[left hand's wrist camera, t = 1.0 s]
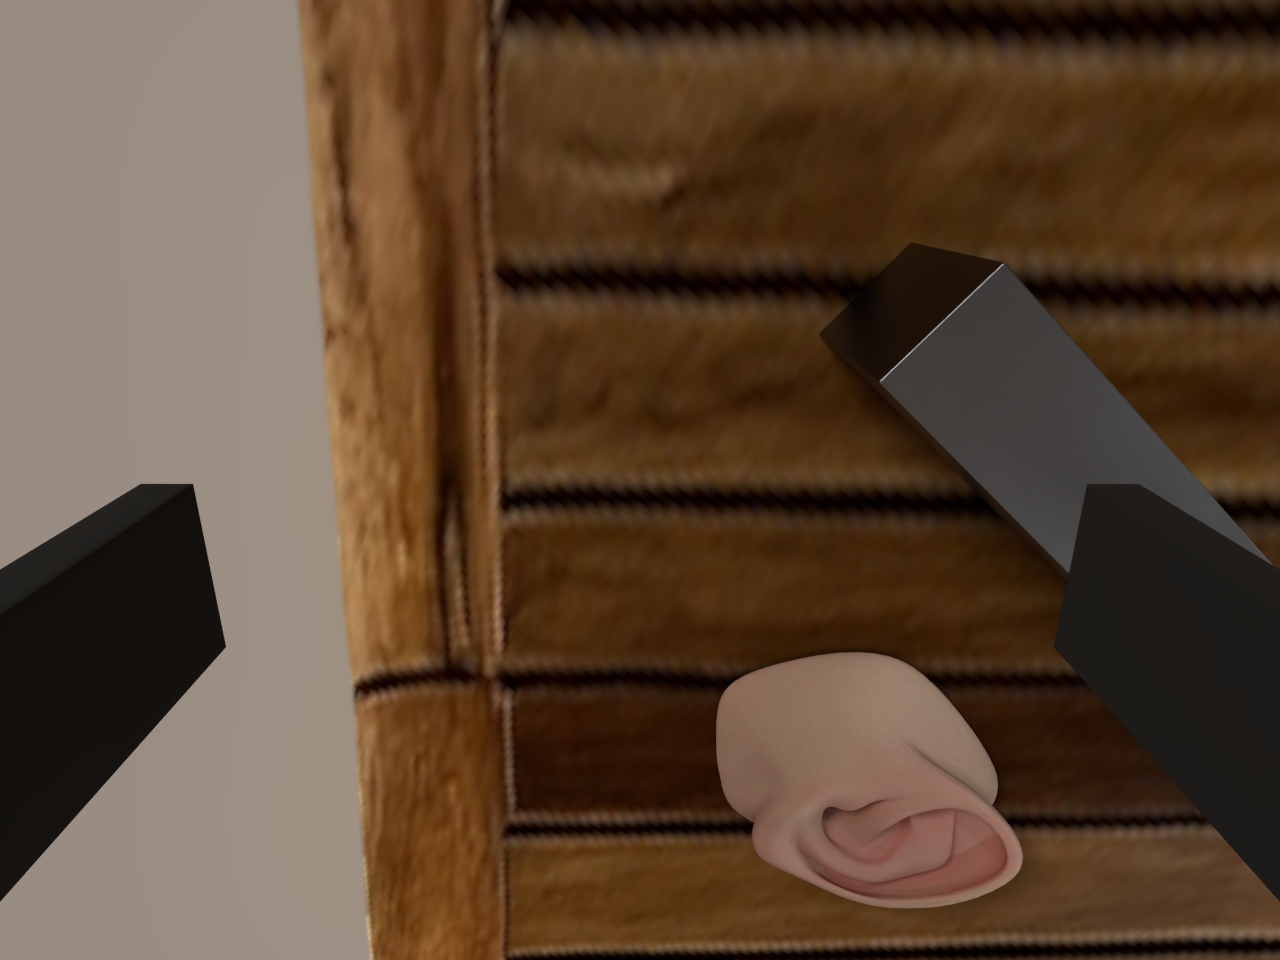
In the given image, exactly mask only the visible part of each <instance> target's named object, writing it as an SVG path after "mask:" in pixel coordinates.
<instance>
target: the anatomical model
mask: <svg viewBox="0 0 1280 960" xmlns="http://www.w3.org/2000/svg"><path fill="white" fill-rule="evenodd" d="M716 751H717V764H718V769H719V773H720V778H721V783H722V787H723V791H724V794H725V796H726V798H727V800H728V802H729V803H730V805H731V806H732V807H733V808H734V809H735V810H736V811H737V812H738V813H740V814H741V815H743V816H744V817H746V818H747V819H749V820H751V821H753V822H754V826H753V833H752V840H753V845H754V848H755V850H756V852H757V854H758V855H759V856H760V857H761V858H762V859H763V860H764V861H766V862H768V863H769V864H771V865H773V866H775V867H777V868H779V869H781V870H783V871H786V872H788V873H790V874H792V875H794V876H797V877H799V878H801V879H803V880H805V881H807V882H809V883H812V884H814V885H816V886H818V887H820V888H822V889H824V890H827V891H829V892H831V893H834V894H836V895H838V896H841V897H844V898H847V899H850V900H853V901H856V902H859V903H863V904H868V905H872V906H879V907H887V908H929V907H939V906H945V905H951V904H955V903H959V902H963V901H967V900H970V899H973V898H977V897H980V896H982V895H984V894H987V893H989V892H991V891H994V890H995V889H997V888H999V887H1001V886H1003V885H1005V884H1006V883H1007V882H1009V881H1010V880H1011V879H1013V878H1014V877H1015V875H1016V874H1017V873H1018V872H1019V870H1020V868H1021V865H1022V860H1023V854H1022V849H1021V845H1020V842H1019V840H1018V838H1017V836H1016V835H1015V833H1014V831H1013V829H1012V828H1011V827H1010V825H1009V824H1008V823H1007V821H1006V820H1005V819H1004V818H1003V817H1002V816H1001V814H1000V813H999V812H998V811H997V810H996V809H995V808H994V807H993V806H992V804H993V803H994V801H995V798H996V795H997V790H998V780H997V775H996V772H995V768H994V766H993V764H992V762H991V760H990V757H989V756H988V754H987V752H986V750H985V749H984V747H983V746H982V744H981V742H980V741H979V739H978V738H977V736H976V735H975V733H974V732H973V730H972V729H971V728H970V726H969V725H968V724H967V722H966V721H965V720H964V718H963V717H962V716H961V715H960V713H959V712H958V711H957V710H956V708H955V707H954V706H953V705H952V704H951V702H950V701H949V700H948V699H947V698H946V697H945V696H944V695H943V694H942V692H941V691H940V690H939V689H938V688H937V687H936V686H935V685H934V684H933V683H932V682H930V681H929V680H928V679H927V678H926V677H925V676H924V675H923V674H921V673H920V672H919V671H917V670H916V669H915V668H913V667H912V666H910V665H908V664H907V663H905V662H903V661H901V660H898V659H896V658H893V657H890V656H885V655H880V654H875V653H863V652H849V653H833V654H824V655H817V656H812V657H807V658H801V659H796V660H792V661H788V662H784V663H780V664H776V665H772V666H769V667H766V668H763V669H760V670H757V671H754V672H752V673H749V674H747V675H745V676H743V677H741V678H740V679H738V680H736V681H735V682H733V683H732V684H731V685H730V686H729V687H728V688H727V689H726V690H725V692H724V693H723V695H722V697H721V699H720V703H719V706H718V713H717V721H716Z"/></svg>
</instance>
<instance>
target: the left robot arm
mask: <svg viewBox="0 0 1280 960" xmlns="http://www.w3.org/2000/svg"><path fill="white" fill-rule="evenodd" d="M225 647H226V645H225V640H224V635H223V630H222V625H221V620H220V615H219V610H218V605H217V600H216V595H215V590H214V585H213V581H212V576H211V571H210V566H209V561H208V556H207V551H206V546H205V541H204V536H203V531H202V526H201V521H200V516H199V511H198V506H197V502H196V497H195V492H194V487H193V484H140V485H138V486H137V487H135V488H134V489H132V490H130V491H129V492H127V493H125V494H124V495H122V496H120V497H119V498H117V499H115V500H114V501H112V502H110V503H109V504H107V505H106V506H104V507H102V508H101V509H99V510H97V511H96V512H94V513H92V514H91V515H89V516H88V517H86V518H84V519H83V520H81V521H79V522H78V523H76V524H74V525H73V526H71V527H69V528H68V529H66V530H65V531H63V532H61V533H60V534H58V535H56V536H55V537H53V538H51V539H50V540H48V541H46V542H45V543H43V544H41V545H40V546H38V547H37V548H35V549H33V550H32V551H30V552H28V553H27V554H25V555H23V556H22V557H20V558H19V559H17V560H15V561H14V562H12V563H10V564H9V565H7V566H5V567H4V568H2V569H0V901H1V900H2V899H3V898H4V897H5V896H6V894H7V893H8V892H9V891H10V890H11V889H12V888H13V886H14V885H15V884H16V883H17V882H18V881H19V880H20V879H21V877H22V876H23V875H24V874H25V873H26V872H27V871H28V870H29V868H30V867H31V866H32V865H33V864H34V863H35V862H36V861H37V859H38V858H39V857H40V856H41V855H42V854H43V853H44V852H45V850H46V849H47V848H48V847H49V846H50V845H51V844H52V843H53V841H54V840H55V839H56V838H57V837H58V836H59V835H60V833H61V832H62V831H63V830H64V829H65V828H66V827H67V826H68V824H69V823H70V822H71V821H72V820H73V819H74V818H75V817H76V815H77V814H78V813H79V812H80V811H81V810H82V809H83V808H84V806H85V805H86V804H87V803H88V802H89V801H90V800H91V799H92V797H93V796H94V795H95V794H96V793H97V792H98V791H99V790H100V788H101V787H102V786H103V785H104V784H105V783H106V782H107V780H108V779H109V778H110V777H111V776H112V775H113V774H114V773H115V771H116V770H117V769H118V768H119V767H120V766H121V765H122V764H123V762H124V761H125V760H126V759H127V758H128V757H129V756H130V755H131V753H132V752H133V751H134V750H135V749H136V748H137V747H138V746H139V744H140V743H141V742H142V741H143V740H144V739H145V738H146V736H147V735H148V734H149V733H150V732H151V731H152V730H153V729H154V727H155V726H156V725H157V724H158V723H159V722H160V721H161V720H162V718H163V717H164V716H165V715H166V714H167V713H168V712H169V711H170V709H171V708H172V707H173V706H174V705H175V704H176V703H177V701H178V700H179V699H180V698H181V697H182V696H183V695H184V694H185V693H186V691H187V690H188V689H189V688H190V687H191V686H192V685H193V683H194V682H195V681H196V680H197V679H198V678H199V677H200V676H201V674H202V673H203V672H204V671H205V670H206V669H207V668H208V667H209V666H210V664H211V663H212V662H213V661H214V660H215V659H216V658H217V656H218V655H219V654H220V653H221V652H222V651H223V650H224V649H225ZM1054 647H1055V649H1056V650H1057V651H1058V652H1059V653H1060V654H1061V655H1062V656H1063V658H1064V659H1065V660H1066V661H1067V662H1068V663H1069V664H1070V666H1071V667H1072V668H1073V669H1074V670H1075V671H1076V672H1077V673H1078V675H1079V676H1080V677H1081V678H1082V679H1083V680H1084V681H1085V682H1086V684H1087V685H1088V686H1089V687H1090V688H1091V689H1092V690H1093V691H1094V693H1095V694H1096V695H1097V696H1098V697H1099V698H1100V699H1101V700H1102V702H1103V703H1104V704H1105V705H1106V706H1107V707H1108V708H1109V709H1110V711H1111V712H1112V713H1113V714H1114V715H1115V716H1116V717H1117V719H1118V720H1119V721H1120V722H1121V723H1122V724H1123V725H1124V726H1125V728H1126V729H1127V730H1128V731H1129V732H1130V733H1131V734H1132V735H1133V737H1134V738H1135V739H1136V740H1137V741H1138V742H1139V743H1140V744H1141V746H1142V747H1143V748H1144V749H1145V750H1146V751H1147V752H1148V753H1149V755H1150V756H1151V757H1152V758H1153V759H1154V760H1155V761H1156V762H1157V764H1158V765H1159V766H1160V767H1161V768H1162V769H1163V770H1164V771H1165V773H1166V774H1167V775H1168V776H1169V777H1170V778H1171V779H1172V781H1173V782H1174V783H1175V784H1176V785H1177V786H1178V787H1179V788H1180V790H1181V791H1182V792H1183V793H1184V794H1185V795H1186V796H1187V797H1188V799H1189V800H1190V801H1191V802H1192V803H1193V804H1194V805H1195V806H1196V808H1197V809H1198V810H1199V811H1200V812H1201V813H1202V814H1203V815H1204V817H1205V818H1206V819H1207V820H1208V821H1209V822H1210V823H1211V824H1212V826H1213V827H1214V828H1215V829H1216V830H1217V831H1218V832H1219V834H1220V835H1221V836H1222V837H1223V838H1224V839H1225V840H1226V841H1227V843H1228V844H1229V845H1230V846H1231V847H1232V848H1233V849H1234V850H1235V852H1236V853H1237V854H1238V855H1239V856H1240V857H1241V858H1242V859H1243V861H1244V862H1245V863H1246V864H1247V865H1248V866H1249V867H1250V868H1251V870H1252V871H1253V872H1254V873H1255V874H1256V875H1257V876H1258V877H1259V879H1260V880H1261V881H1262V882H1263V883H1264V884H1265V885H1266V886H1267V888H1268V889H1269V890H1270V891H1271V892H1272V893H1273V894H1274V896H1275V897H1276V898H1277V899H1278V900H1279V901H1280V569H1278V568H1276V567H1275V566H1273V565H1271V564H1270V563H1268V562H1266V561H1265V560H1263V559H1262V558H1260V557H1258V556H1257V555H1255V554H1253V553H1252V552H1250V551H1248V550H1247V549H1245V548H1243V547H1242V546H1240V545H1239V544H1237V543H1235V542H1234V541H1232V540H1230V539H1229V538H1227V537H1225V536H1224V535H1222V534H1220V533H1219V532H1217V531H1216V530H1214V529H1212V528H1211V527H1209V526H1207V525H1206V524H1204V523H1202V522H1201V521H1199V520H1197V519H1196V518H1194V517H1193V516H1191V515H1189V514H1188V513H1186V512H1184V511H1183V510H1181V509H1179V508H1178V507H1176V506H1174V505H1173V504H1171V503H1170V502H1168V501H1166V500H1165V499H1163V498H1161V497H1160V496H1158V495H1156V494H1155V493H1153V492H1151V491H1150V490H1148V489H1147V488H1145V487H1143V486H1142V485H1140V484H1087V487H1086V492H1085V497H1084V502H1083V507H1082V511H1081V516H1080V521H1079V526H1078V531H1077V536H1076V541H1075V546H1074V551H1073V556H1072V561H1071V566H1070V571H1069V576H1068V581H1067V586H1066V590H1065V595H1064V600H1063V605H1062V610H1061V615H1060V620H1059V625H1058V630H1057V635H1056V640H1055V645H1054Z"/></svg>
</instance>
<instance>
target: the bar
mask: <svg viewBox="0 0 1280 960" xmlns="http://www.w3.org/2000/svg"><path fill="white" fill-rule="evenodd" d="M820 336H821V337H822V338H823V339H824V340H825V341H826V342H827V343H828V344H829V345H830V346H831V347H832V348H833V349H834V350H835V351H836V352H837V353H838V354H839V355H840V356H841V357H842V358H843V359H844V360H845V361H846V362H847V363H848V364H849V365H850V366H851V367H852V368H853V369H854V370H855V371H856V372H857V373H858V374H859V375H860V376H861V377H862V378H863V379H864V380H865V381H866V382H867V383H868V384H869V385H870V386H871V387H872V388H873V389H874V390H875V391H876V392H877V393H878V394H879V395H880V396H881V397H882V398H883V399H884V400H885V401H886V402H887V403H888V404H889V405H890V406H891V407H892V408H893V409H894V410H895V411H896V412H897V413H898V414H899V415H900V416H901V417H902V418H903V419H904V420H905V421H906V422H907V423H908V424H909V425H910V426H911V427H912V428H913V429H914V430H915V431H916V432H917V433H918V434H919V435H920V436H921V437H922V438H923V439H924V440H925V442H926V443H927V444H928V445H929V446H930V447H931V448H932V449H933V450H934V451H935V452H936V453H937V454H938V455H939V456H940V457H941V458H942V459H943V460H944V461H945V462H946V463H947V464H948V465H949V466H950V467H951V468H952V469H953V470H954V471H955V472H956V473H957V474H958V475H959V476H960V477H961V478H962V479H963V480H964V481H965V482H966V483H967V484H968V485H969V486H970V487H971V488H972V489H973V490H974V491H975V492H976V493H977V494H978V495H979V496H980V497H981V498H982V499H983V500H984V501H985V502H986V503H987V504H988V505H989V506H990V507H991V508H992V509H993V510H994V511H995V512H996V513H997V514H998V515H999V516H1000V517H1001V518H1002V519H1003V520H1004V521H1005V522H1006V523H1007V524H1008V525H1009V526H1010V527H1011V528H1012V529H1013V530H1014V531H1015V532H1016V533H1017V534H1018V535H1019V536H1020V537H1021V538H1022V539H1023V540H1024V541H1025V542H1026V543H1027V544H1028V545H1029V546H1030V547H1031V548H1032V549H1033V550H1034V551H1035V552H1036V553H1037V554H1038V555H1039V556H1040V557H1041V558H1042V559H1043V560H1044V561H1045V562H1046V563H1047V564H1048V565H1049V566H1050V567H1051V568H1052V569H1053V570H1054V571H1055V572H1056V573H1057V574H1058V575H1059V576H1060V577H1061V578H1062V579H1063V580H1064V581H1065V582H1066V583H1067V581H1068V576H1069V571H1070V566H1071V561H1072V556H1073V551H1074V546H1075V541H1076V536H1077V531H1078V526H1079V521H1080V516H1081V511H1082V507H1083V502H1084V497H1085V492H1086V487H1087V484H1140V485H1142V486H1143V487H1145V488H1147V489H1148V490H1150V491H1151V492H1153V493H1155V494H1156V495H1158V496H1160V497H1161V498H1163V499H1165V500H1166V501H1168V502H1170V503H1171V504H1173V505H1174V506H1176V507H1178V508H1179V509H1181V510H1183V511H1184V512H1186V513H1188V514H1189V515H1191V516H1193V517H1194V518H1196V519H1197V520H1199V521H1201V522H1202V523H1204V524H1206V525H1207V526H1209V527H1211V528H1212V529H1214V530H1216V531H1217V532H1219V533H1220V534H1222V535H1224V536H1225V537H1227V538H1229V539H1230V540H1232V541H1234V542H1235V543H1237V544H1239V545H1240V546H1242V547H1243V548H1245V549H1247V550H1248V551H1250V552H1252V553H1253V554H1255V555H1257V556H1258V557H1260V558H1262V559H1263V560H1265V561H1266V562H1268V563H1270V562H1269V560H1268V559H1267V558H1266V557H1265V556H1264V555H1263V554H1262V552H1261V551H1260V550H1259V549H1258V548H1257V547H1256V546H1255V545H1254V543H1253V542H1252V541H1251V540H1250V539H1249V538H1248V537H1247V536H1246V534H1245V533H1244V532H1243V531H1242V530H1241V529H1240V528H1239V527H1238V525H1237V524H1236V523H1235V522H1234V521H1233V520H1232V519H1231V518H1230V516H1229V515H1228V514H1227V513H1226V512H1225V511H1224V510H1223V509H1222V507H1221V506H1220V505H1219V504H1218V503H1217V502H1216V501H1215V499H1214V498H1213V497H1212V496H1211V495H1210V494H1209V493H1208V492H1207V490H1206V489H1205V488H1204V487H1203V486H1202V485H1201V484H1200V483H1199V481H1198V480H1197V479H1196V478H1195V477H1194V476H1193V475H1192V474H1191V472H1190V471H1189V470H1188V469H1187V468H1186V467H1185V466H1184V465H1183V463H1182V462H1181V461H1180V460H1179V459H1178V458H1177V457H1176V455H1175V454H1174V453H1173V452H1172V451H1171V450H1170V449H1169V448H1168V446H1167V445H1166V444H1165V443H1164V442H1163V441H1162V440H1161V439H1160V437H1159V436H1158V435H1157V434H1156V433H1155V432H1154V431H1153V430H1152V428H1151V427H1150V426H1149V425H1148V424H1147V423H1146V422H1145V421H1144V419H1143V418H1142V417H1141V416H1140V415H1139V414H1138V413H1137V411H1136V410H1135V409H1134V408H1133V407H1132V406H1131V405H1130V404H1129V402H1128V401H1127V400H1126V399H1125V398H1124V397H1123V396H1122V395H1121V393H1120V392H1119V391H1118V390H1117V389H1116V388H1115V387H1114V386H1113V384H1112V383H1111V382H1110V381H1109V380H1108V379H1107V378H1106V377H1105V375H1104V374H1103V373H1102V372H1101V371H1100V370H1099V369H1098V367H1097V366H1096V365H1095V364H1094V363H1093V362H1092V361H1091V360H1090V358H1089V357H1088V356H1087V355H1086V354H1085V353H1084V352H1083V351H1082V349H1081V348H1080V347H1079V346H1078V345H1077V344H1076V343H1075V342H1074V340H1073V339H1072V338H1071V337H1070V336H1069V335H1068V334H1067V333H1066V331H1065V330H1064V329H1063V328H1062V327H1061V326H1060V325H1059V324H1058V322H1057V321H1056V320H1055V319H1054V318H1053V317H1052V316H1051V314H1050V313H1049V312H1048V311H1047V310H1046V309H1045V308H1044V307H1043V305H1042V304H1041V303H1040V302H1039V301H1038V300H1037V299H1036V298H1035V296H1034V295H1033V294H1032V293H1031V292H1030V291H1029V290H1028V289H1027V287H1026V286H1025V285H1024V284H1023V283H1022V282H1021V281H1020V280H1019V278H1018V277H1017V276H1016V275H1015V274H1014V273H1013V272H1012V270H1011V269H1010V268H1009V267H1008V266H1007V265H1006V264H1005V263H1003V262H999V261H994V260H990V259H985V258H980V257H976V256H971V255H966V254H962V253H957V252H953V251H948V250H943V249H939V248H934V247H929V246H925V245H920V244H915V243H910V244H909V245H908V246H907V247H906V248H905V249H904V250H903V251H902V252H901V253H900V254H899V255H898V256H897V257H896V258H895V259H894V260H893V261H892V262H891V263H890V264H889V265H888V266H887V267H886V268H885V269H884V270H883V271H882V272H881V273H880V274H879V275H878V276H877V277H876V278H875V279H874V280H873V281H872V282H871V283H870V284H869V285H868V286H867V287H866V288H865V289H864V290H863V291H862V292H861V293H860V294H859V295H858V296H857V297H856V298H855V299H854V300H853V301H852V302H851V303H850V304H849V305H848V306H847V307H846V308H845V309H844V310H843V311H842V312H841V313H840V314H839V315H838V316H837V317H836V318H835V319H834V320H833V321H832V322H831V323H830V324H829V325H828V326H827V327H826V328H825V329H824V330H823V331H822V332H821V333H820ZM1270 564H1271V563H1270ZM1271 565H1272V564H1271Z"/></svg>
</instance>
